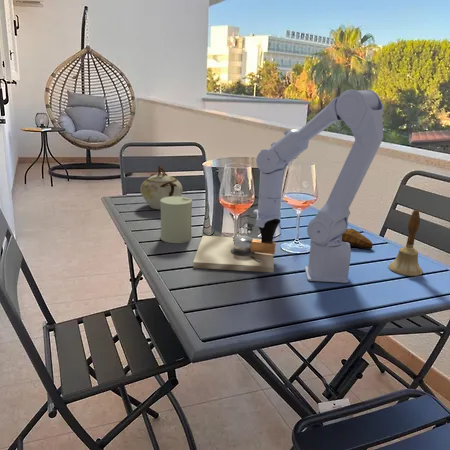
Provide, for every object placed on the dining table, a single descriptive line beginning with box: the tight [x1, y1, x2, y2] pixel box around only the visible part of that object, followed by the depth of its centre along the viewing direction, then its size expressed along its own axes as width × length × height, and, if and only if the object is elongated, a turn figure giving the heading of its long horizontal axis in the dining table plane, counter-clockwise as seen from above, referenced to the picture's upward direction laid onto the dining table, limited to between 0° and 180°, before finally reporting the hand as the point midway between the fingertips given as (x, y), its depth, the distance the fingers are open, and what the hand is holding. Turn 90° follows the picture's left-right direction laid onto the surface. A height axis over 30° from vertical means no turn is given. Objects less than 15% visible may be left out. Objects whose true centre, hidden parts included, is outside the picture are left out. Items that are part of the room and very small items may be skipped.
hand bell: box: [388, 209, 423, 277], centre depth 114 cm, size 8×8×16 cm
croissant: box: [342, 227, 374, 250], centre depth 132 cm, size 14×7×5 cm, turn 49°
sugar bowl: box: [140, 165, 183, 211], centre depth 162 cm, size 20×15×15 cm
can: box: [160, 195, 193, 244], centre depth 131 cm, size 9×9×12 cm
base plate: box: [192, 235, 275, 273], centre depth 122 cm, size 20×20×2 cm
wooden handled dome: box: [233, 235, 277, 255], centre depth 119 cm, size 11×5×3 cm, turn 75°
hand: (266, 245), depth 120 cm, fingers closed, pressing on wooden handled dome
